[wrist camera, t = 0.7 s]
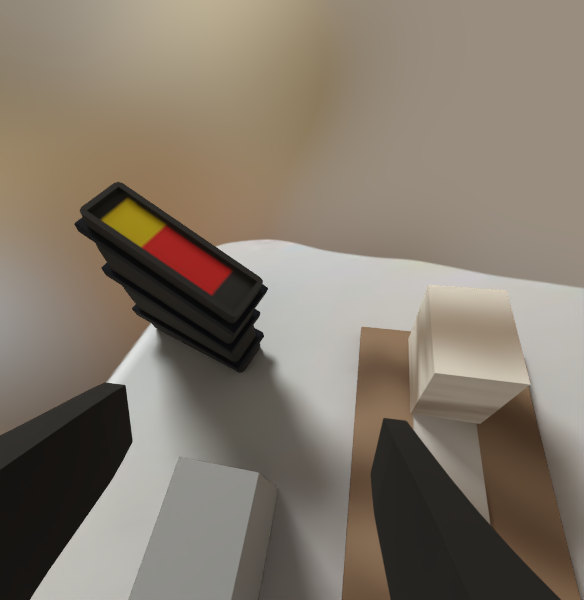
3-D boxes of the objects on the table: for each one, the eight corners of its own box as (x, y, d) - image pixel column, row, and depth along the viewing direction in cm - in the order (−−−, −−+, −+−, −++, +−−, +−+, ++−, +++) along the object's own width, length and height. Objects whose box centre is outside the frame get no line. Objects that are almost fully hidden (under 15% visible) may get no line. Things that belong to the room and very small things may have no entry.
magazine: (147, 281, 33) (117, 173, 19) (254, 354, 33) (296, 296, 20) (120, 309, 31) (66, 210, 18) (233, 385, 31) (263, 345, 18)
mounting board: (651, 950, 12) (1068, 1498, 5) (325, 819, 14) (316, 1074, 7) (511, 348, 26) (572, 282, 19) (360, 332, 28) (368, 269, 22)
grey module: (252, 630, 18) (215, 672, 12) (180, 608, 19) (114, 638, 13) (278, 487, 22) (259, 470, 16) (218, 474, 23) (179, 454, 17)
